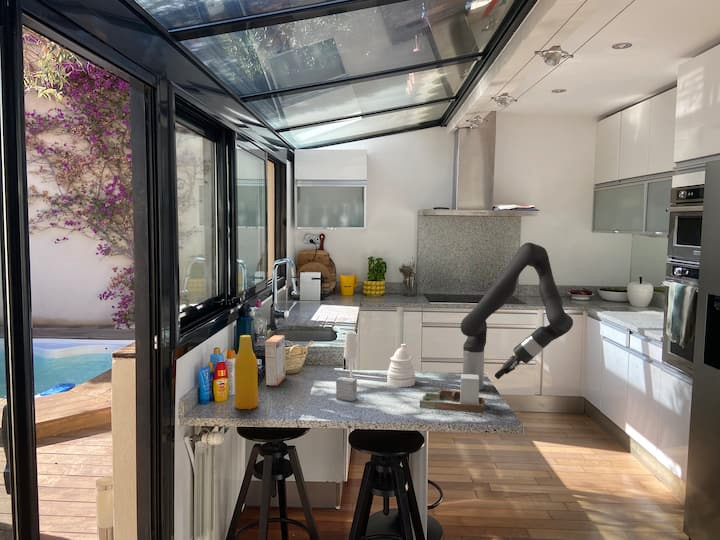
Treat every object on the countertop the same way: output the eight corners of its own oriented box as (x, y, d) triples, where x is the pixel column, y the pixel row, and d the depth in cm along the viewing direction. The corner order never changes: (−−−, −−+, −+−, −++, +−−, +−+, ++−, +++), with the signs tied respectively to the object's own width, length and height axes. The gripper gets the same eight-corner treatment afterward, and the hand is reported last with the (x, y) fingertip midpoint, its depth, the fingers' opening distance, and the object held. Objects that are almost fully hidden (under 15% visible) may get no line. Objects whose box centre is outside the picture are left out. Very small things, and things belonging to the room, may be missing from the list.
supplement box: (478, 410, 221) (479, 379, 220) (459, 409, 223) (460, 378, 222) (478, 404, 229) (479, 374, 228) (460, 403, 230) (460, 373, 229)
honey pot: (396, 377, 269) (396, 341, 267) (419, 382, 261) (420, 344, 260) (381, 383, 258) (382, 345, 257) (405, 388, 251) (405, 349, 249)
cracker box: (273, 377, 269) (273, 334, 267) (285, 378, 268) (285, 335, 266) (264, 385, 255) (264, 340, 253) (277, 386, 254) (277, 341, 253)
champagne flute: (360, 385, 256) (360, 333, 254) (345, 386, 254) (345, 334, 252) (355, 381, 263) (355, 331, 261) (342, 382, 261) (342, 331, 259)
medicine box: (357, 398, 236) (357, 378, 236) (352, 401, 232) (352, 381, 232) (340, 396, 240) (340, 376, 239) (335, 399, 236) (335, 379, 235)
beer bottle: (250, 411, 220) (249, 339, 218) (230, 408, 223) (229, 337, 221) (262, 404, 229) (261, 334, 227) (242, 401, 232) (241, 333, 230)
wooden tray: (427, 394, 242) (427, 388, 242) (485, 399, 235) (485, 393, 235) (419, 406, 226) (419, 400, 225) (482, 412, 219) (482, 406, 218)
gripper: (535, 360, 210) (501, 389, 215) (535, 351, 223) (503, 379, 228) (521, 345, 211) (487, 374, 216) (522, 338, 224) (490, 365, 229)
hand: (496, 377), depth 222 cm, fingers closed
